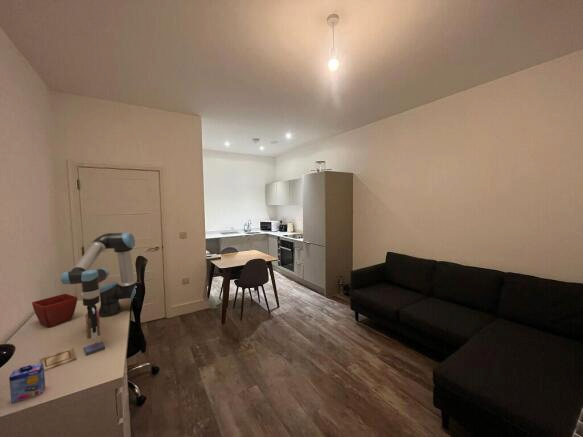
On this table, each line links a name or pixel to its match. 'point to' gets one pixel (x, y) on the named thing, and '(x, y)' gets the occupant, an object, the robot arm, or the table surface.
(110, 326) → the table surface
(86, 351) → the ink pad
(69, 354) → the board
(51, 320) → the plant pot
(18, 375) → the ink cartridge box
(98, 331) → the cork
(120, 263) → the robot arm
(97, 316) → the soda can
